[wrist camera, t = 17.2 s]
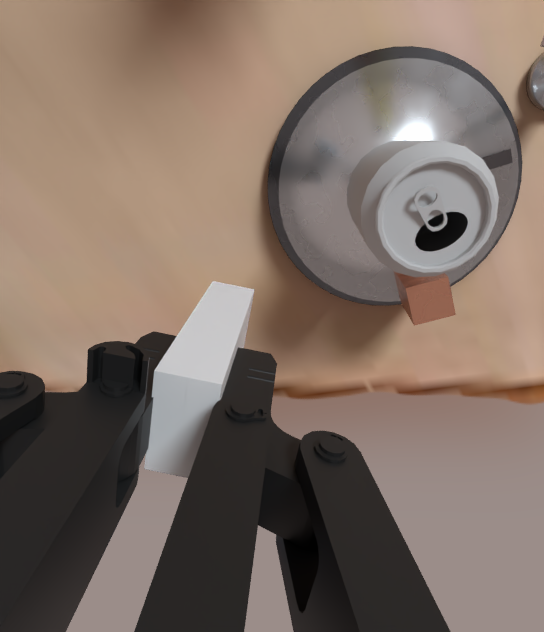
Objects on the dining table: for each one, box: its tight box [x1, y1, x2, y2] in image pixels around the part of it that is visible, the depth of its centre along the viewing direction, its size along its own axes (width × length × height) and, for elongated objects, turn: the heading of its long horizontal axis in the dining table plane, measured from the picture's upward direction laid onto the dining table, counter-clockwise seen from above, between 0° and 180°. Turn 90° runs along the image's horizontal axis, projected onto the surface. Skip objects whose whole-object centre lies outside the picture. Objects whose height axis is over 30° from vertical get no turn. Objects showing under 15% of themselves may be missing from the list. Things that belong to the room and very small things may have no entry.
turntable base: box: [268, 46, 522, 305], centre depth 37 cm, size 20×20×1 cm
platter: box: [279, 58, 519, 325], centre depth 33 cm, size 18×18×6 cm
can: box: [347, 140, 499, 277], centre depth 29 cm, size 8×8×12 cm
